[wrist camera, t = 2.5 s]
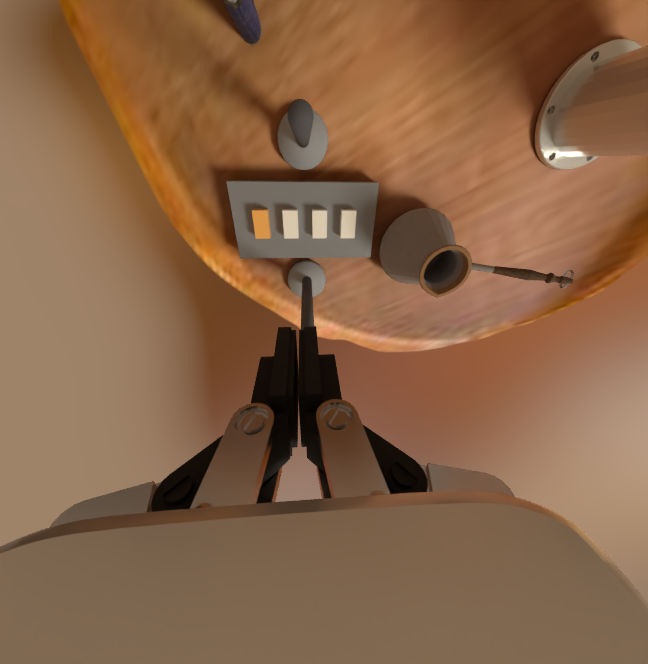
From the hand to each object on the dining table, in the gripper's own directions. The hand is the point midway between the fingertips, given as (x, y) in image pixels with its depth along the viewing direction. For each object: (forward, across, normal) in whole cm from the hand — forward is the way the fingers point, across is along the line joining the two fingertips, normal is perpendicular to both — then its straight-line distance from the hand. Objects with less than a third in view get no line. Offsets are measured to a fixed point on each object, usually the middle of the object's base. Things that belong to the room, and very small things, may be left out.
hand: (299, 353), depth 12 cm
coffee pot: (+32, -23, +4) cm, 40 cm away
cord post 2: (+32, -1, +9) cm, 34 cm away
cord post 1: (+32, -1, -10) cm, 34 cm away
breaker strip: (+32, -1, 0) cm, 32 cm away
